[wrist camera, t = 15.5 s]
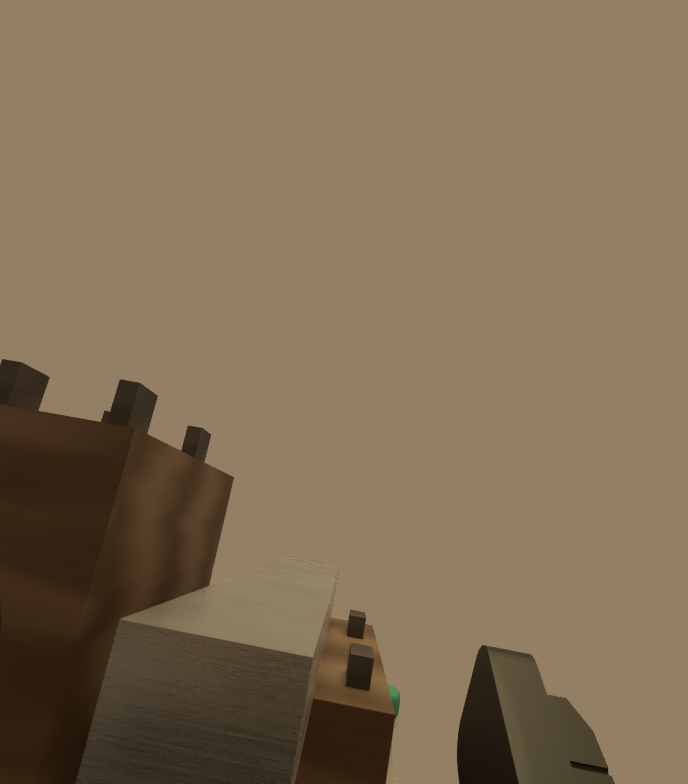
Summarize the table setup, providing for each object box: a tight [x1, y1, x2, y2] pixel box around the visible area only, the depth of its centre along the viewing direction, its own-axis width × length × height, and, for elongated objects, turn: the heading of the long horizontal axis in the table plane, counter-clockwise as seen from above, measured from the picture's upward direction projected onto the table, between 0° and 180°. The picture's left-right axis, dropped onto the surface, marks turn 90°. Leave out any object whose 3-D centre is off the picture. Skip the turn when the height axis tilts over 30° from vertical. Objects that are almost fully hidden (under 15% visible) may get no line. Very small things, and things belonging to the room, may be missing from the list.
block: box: [76, 556, 339, 784], centre depth 19 cm, size 24×3×3 cm, turn 179°
